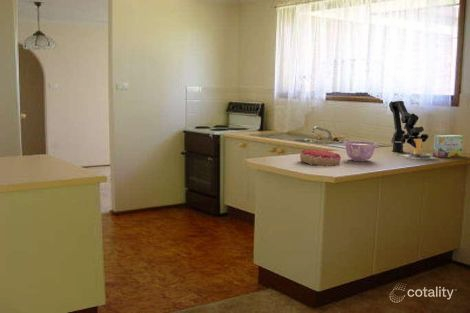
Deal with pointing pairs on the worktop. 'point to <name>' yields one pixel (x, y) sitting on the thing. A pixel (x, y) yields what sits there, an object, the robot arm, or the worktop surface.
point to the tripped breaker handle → (417, 146)
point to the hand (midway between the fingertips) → (418, 147)
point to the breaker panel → (419, 156)
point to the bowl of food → (360, 150)
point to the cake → (320, 157)
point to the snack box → (447, 145)
